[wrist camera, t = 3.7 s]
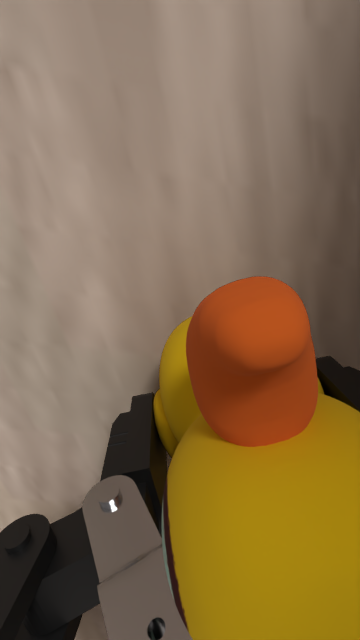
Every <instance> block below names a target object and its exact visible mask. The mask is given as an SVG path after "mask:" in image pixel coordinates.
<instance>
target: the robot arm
mask: <svg viewBox="0 0 360 640" xmlns="http://www.w3.org/2000/svg"><path fill="white" fill-rule="evenodd" d="M316 368H317V377H318V379H319V381H320V383H321V386H322V388H323V391H324V395H327V396H330V397H332V398H335V399H337V400H339V401H341V402H343V403H345V404H347V405H349V406H351V407H352V408H354V409H356V410H357V411H359V412H360V371H359V370H357V369H354V368H352V367H344V368H343V367H342V366H341V365H340V364H339V363H338V362H337V361H336V360H334V359H333V358H332V357H331V356H326V357H322V358H317V359H316ZM154 397H155V395H154V393H153V392H152V393H147V394H143V395H138V396H133V397H132V403H131V411H130V412H126V413H121V414H120V415H119V416H118V417H117V419H116V420H115V422H114V423H113V424H112V428H111V433H110V438H109V443H108V447H107V452H106V457H105V461H104V466H103V471H102V475H101V480H100V482H99V483H97V484H96V485H95V486H94V487H93V488H92V489H91V490H90V491H89V492H88V494H87V495H86V497H85V499H84V502H83V507H82V508H80V509H79V510H77V511H76V512H74V513H72V514H70V515H68V516H66V517H64V518H62V519H60V520H58V521H56V522H54V523H52V524H49V521H48V519H47V518H46V517H45V516H43V515H40V514H30V515H27V516H24V517H21V518H19V519H17V520H15V521H14V522H12V523H11V524H10V525H8V526H7V527H6V528H5V529H4V530H3V531H1V532H0V640H74V638H75V635H76V632H77V629H78V626H79V623H80V620H81V617H82V614H83V613H84V612H86V611H88V610H89V609H91V608H93V607H95V606H96V605H98V604H101V609H102V613H103V617H104V622H105V626H106V631H107V635H108V639H109V640H193V639H192V637H191V636H190V634H189V632H188V630H187V629H186V627H185V625H184V623H183V621H182V619H181V616H180V614H179V612H178V609H177V607H176V604H175V602H174V599H173V596H172V593H171V589H170V586H169V582H168V578H167V574H166V569H165V563H164V557H163V548H162V538H161V536H160V534H162V503H163V494H164V487H165V481H166V477H167V460H166V449H165V447H164V446H163V444H162V441H161V439H160V437H159V434H158V431H157V428H156V424H155V419H154V410H153V402H154Z"/></svg>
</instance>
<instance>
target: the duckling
mask: <svg viewBox="0 0 360 640" xmlns="http://www.w3.org/2000/svg"><path fill="white" fill-rule="evenodd" d="M159 384H160V389H159V390H158V391H157V392H156V394H155V397H154V402H153V410H154V419H155V424H156V428H157V431H158V434H159V437H160V439H161V441H162V444H163V446H164V447H165V449H166V451H167V452H168V454H169V455H170V456H171V457H172V460H171V463H170V466H169V469H168V473H167V477H166V481H165V487H164V494H163V503H162V548H163V557H164V563H165V569H166V574H167V578H168V582H169V586H170V589H171V593H172V596H173V599H174V602H175V604H176V607H177V609H178V612H179V614H180V616H181V619H182V621H183V623H184V625H185V627H186V629H187V630H188V632H189V634H190V636H191V637H192V639H193V640H360V412H359V411H357V410H356V409H354V408H352V407H351V406H349V405H347V404H345V403H343V402H341V401H339V400H337V399H335V398H332V397H330V396H327V395H324V391H323V388H322V386H321V383H320V381H319V379H318V377H317V368H316V359H315V351H314V346H313V342H312V337H311V333H310V323H309V319H308V315H307V312H306V309H305V306H304V304H303V302H302V300H301V299H300V297H299V296H298V295H297V293H296V292H295V291H294V290H293V289H292V288H291V287H290V286H288V285H287V284H285V283H283V282H282V281H279V280H277V279H274V278H270V277H250V278H245V279H241V280H237V281H234V282H232V283H229V284H226V285H224V286H222V287H220V288H218V289H217V290H215V291H214V292H213V293H211V294H210V295H208V296H207V297H206V298H205V299H204V300H203V301H202V302H201V303H200V304H199V306H198V307H197V309H196V310H195V312H194V314H193V316H192V317H190V318H188V319H186V320H185V321H183V322H182V323H181V324H180V325H178V326H177V327H176V328H175V330H174V331H173V332H172V333H171V335H170V336H169V338H168V340H167V342H166V344H165V347H164V349H163V352H162V356H161V361H160V370H159Z"/></svg>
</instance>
